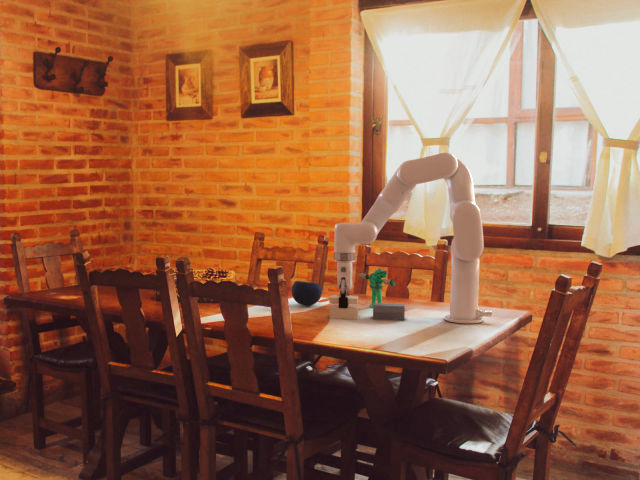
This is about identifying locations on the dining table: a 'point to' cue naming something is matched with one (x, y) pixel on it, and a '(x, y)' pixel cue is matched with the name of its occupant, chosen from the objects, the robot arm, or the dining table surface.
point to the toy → (377, 284)
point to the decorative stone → (306, 292)
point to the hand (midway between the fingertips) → (343, 305)
